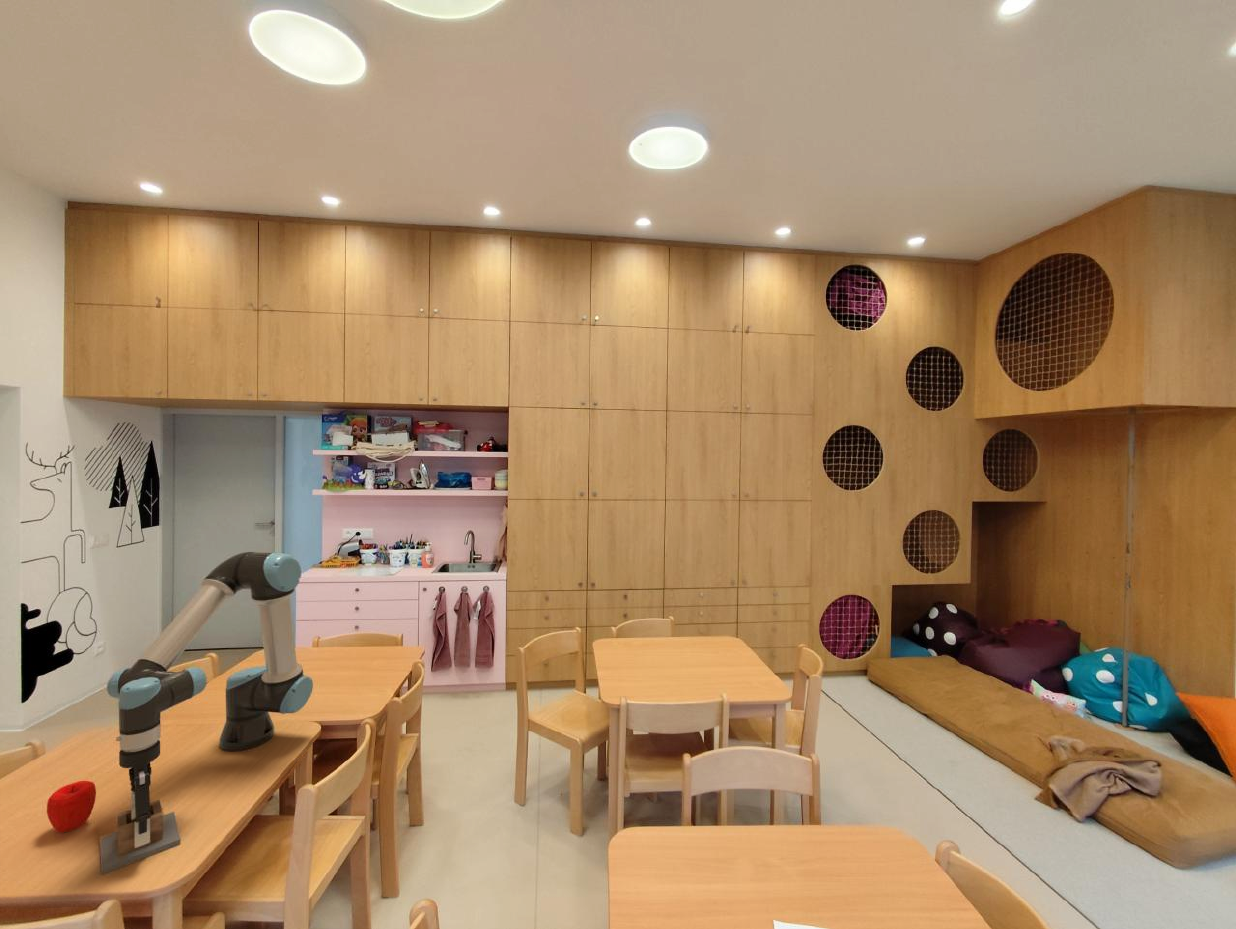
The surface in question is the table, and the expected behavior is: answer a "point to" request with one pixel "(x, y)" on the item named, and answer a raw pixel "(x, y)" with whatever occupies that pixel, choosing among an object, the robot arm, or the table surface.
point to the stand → (114, 861)
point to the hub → (128, 829)
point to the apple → (71, 805)
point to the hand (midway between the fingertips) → (140, 830)
